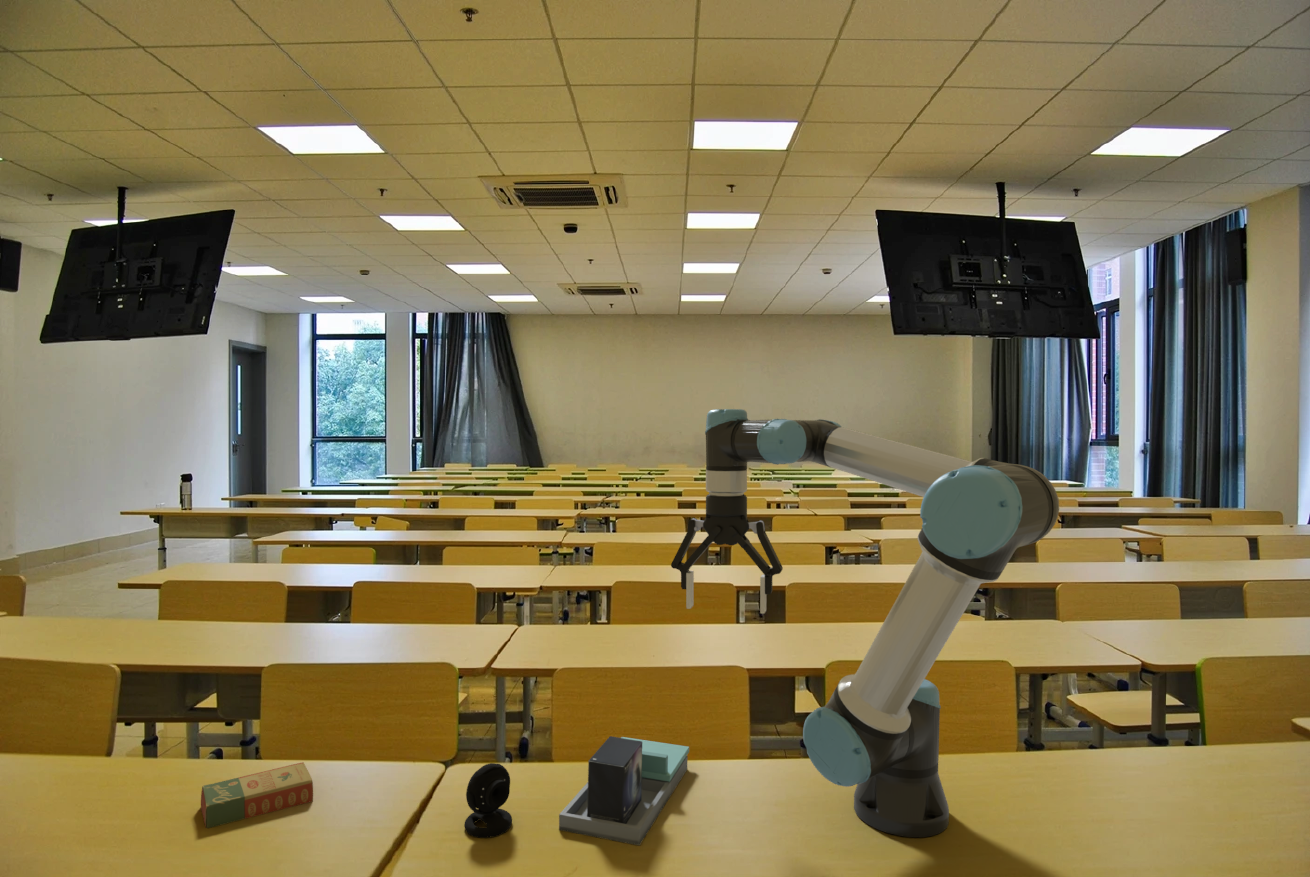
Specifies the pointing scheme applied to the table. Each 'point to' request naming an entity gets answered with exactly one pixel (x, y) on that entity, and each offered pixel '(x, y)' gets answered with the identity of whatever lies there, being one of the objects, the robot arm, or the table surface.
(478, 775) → the webcam
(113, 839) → the table surface
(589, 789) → the small box
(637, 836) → the tray
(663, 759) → the lid
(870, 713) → the robot arm
